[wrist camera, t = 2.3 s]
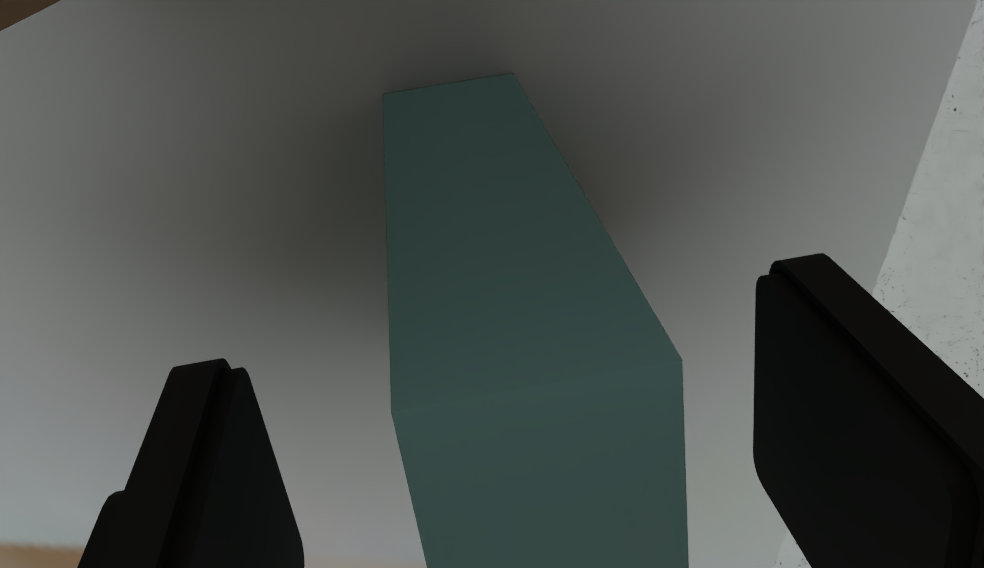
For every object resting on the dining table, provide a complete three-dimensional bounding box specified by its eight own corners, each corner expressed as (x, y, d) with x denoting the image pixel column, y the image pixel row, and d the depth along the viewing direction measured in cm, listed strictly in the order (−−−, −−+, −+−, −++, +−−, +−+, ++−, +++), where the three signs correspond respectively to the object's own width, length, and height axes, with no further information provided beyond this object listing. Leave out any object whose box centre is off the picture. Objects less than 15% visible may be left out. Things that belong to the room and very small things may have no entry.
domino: (382, 94, 14) (391, 411, 6) (512, 72, 14) (681, 360, 6) (431, 345, 17) (483, 809, 9) (543, 326, 17) (694, 767, 9)
